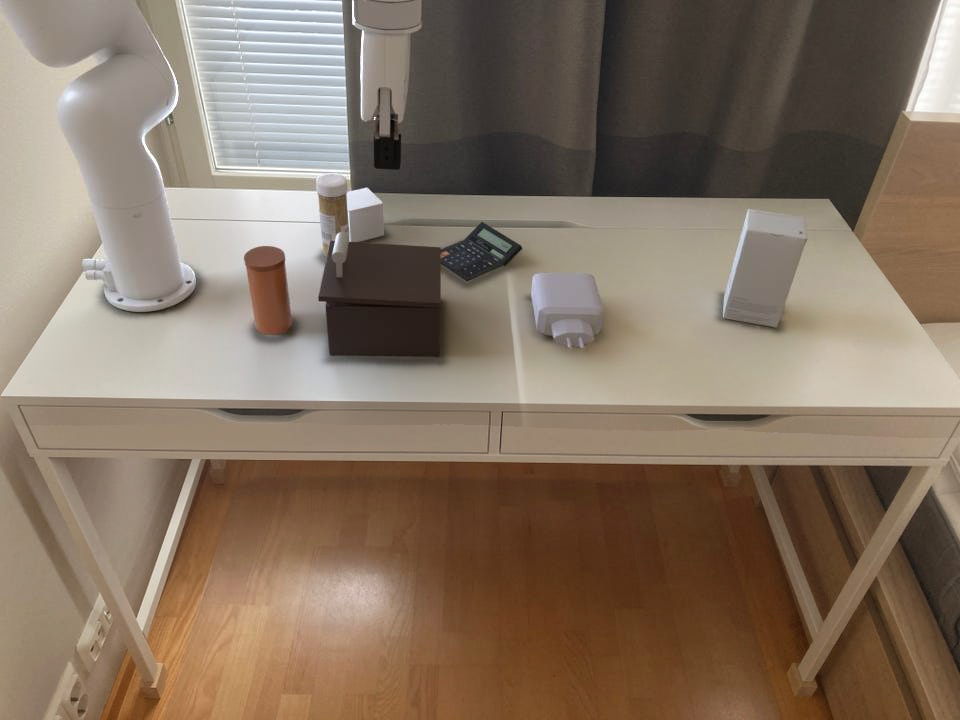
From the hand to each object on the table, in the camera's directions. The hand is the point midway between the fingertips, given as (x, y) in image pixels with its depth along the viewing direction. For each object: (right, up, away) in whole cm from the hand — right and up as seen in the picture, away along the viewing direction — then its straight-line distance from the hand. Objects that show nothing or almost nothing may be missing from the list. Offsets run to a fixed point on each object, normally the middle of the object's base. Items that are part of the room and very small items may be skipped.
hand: (387, 166), depth 98 cm
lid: (-2, -13, +8) cm, 15 cm away
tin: (-17, -19, +13) cm, 29 cm away
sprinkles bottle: (-11, -8, +28) cm, 32 cm away
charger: (+24, -20, +17) cm, 35 cm away
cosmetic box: (+52, -17, +22) cm, 59 cm away
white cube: (-9, -3, +35) cm, 36 cm away
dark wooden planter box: (-2, -20, +14) cm, 24 cm away
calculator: (+11, -8, +30) cm, 33 cm away
